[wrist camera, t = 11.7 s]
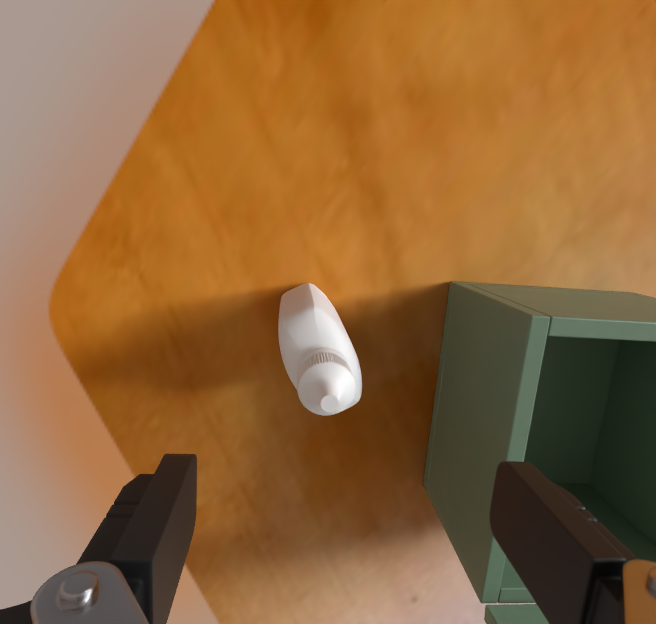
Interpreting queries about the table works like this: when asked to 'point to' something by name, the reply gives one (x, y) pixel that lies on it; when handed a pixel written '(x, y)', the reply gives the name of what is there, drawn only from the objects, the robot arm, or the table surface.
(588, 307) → the chest
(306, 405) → the eye dropper bottle
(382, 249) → the table surface
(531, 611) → the lid
